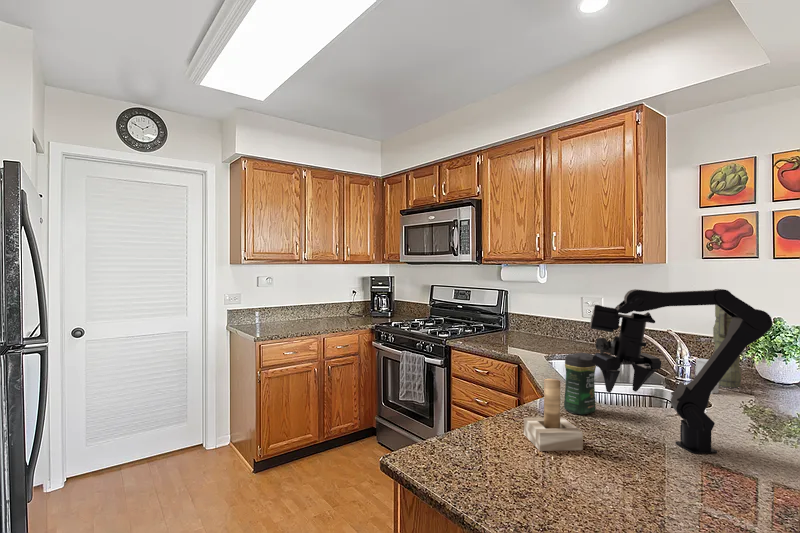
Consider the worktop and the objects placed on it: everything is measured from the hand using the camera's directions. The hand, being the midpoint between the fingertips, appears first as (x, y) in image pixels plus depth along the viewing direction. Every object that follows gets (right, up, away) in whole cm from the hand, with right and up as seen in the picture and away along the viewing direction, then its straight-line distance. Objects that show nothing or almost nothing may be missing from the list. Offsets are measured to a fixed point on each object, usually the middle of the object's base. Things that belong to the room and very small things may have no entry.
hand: (621, 391), depth 116 cm
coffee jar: (-2, -13, +21) cm, 25 cm away
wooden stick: (-20, -12, -4) cm, 24 cm away
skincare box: (+56, -14, +45) cm, 74 cm away
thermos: (+71, -14, +55) cm, 90 cm away
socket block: (-20, -12, -4) cm, 24 cm away
